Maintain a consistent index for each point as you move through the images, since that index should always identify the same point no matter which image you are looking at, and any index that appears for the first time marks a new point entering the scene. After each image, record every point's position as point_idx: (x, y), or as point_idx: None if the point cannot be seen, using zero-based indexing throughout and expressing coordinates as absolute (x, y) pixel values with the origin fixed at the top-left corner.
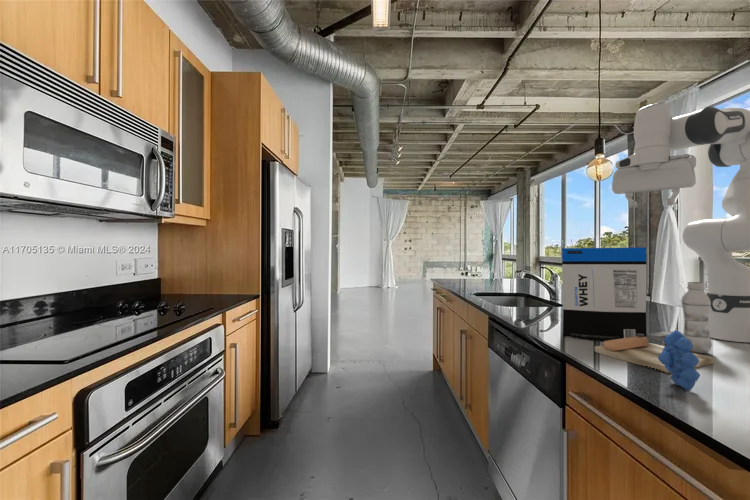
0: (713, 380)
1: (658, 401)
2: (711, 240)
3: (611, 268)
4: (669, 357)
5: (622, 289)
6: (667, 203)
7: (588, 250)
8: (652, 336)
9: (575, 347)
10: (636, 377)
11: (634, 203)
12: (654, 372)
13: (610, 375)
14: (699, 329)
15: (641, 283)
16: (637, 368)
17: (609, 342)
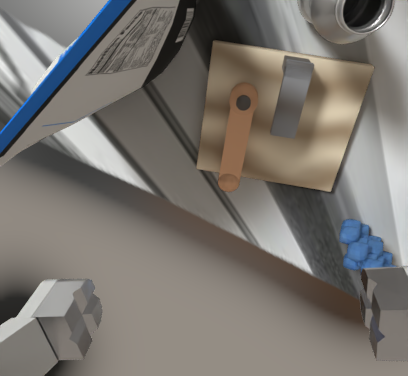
0: (388, 170)
1: (354, 288)
2: None
3: (78, 79)
4: (359, 268)
5: (136, 48)
6: (370, 317)
7: None
8: (282, 135)
9: (160, 164)
10: (306, 235)
11: (90, 340)
12: (314, 197)
13: (279, 251)
14: (347, 18)
15: None
16: (289, 198)
17: (229, 186)
